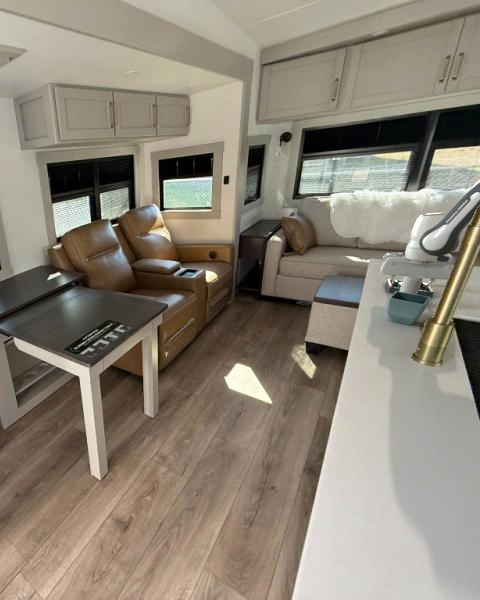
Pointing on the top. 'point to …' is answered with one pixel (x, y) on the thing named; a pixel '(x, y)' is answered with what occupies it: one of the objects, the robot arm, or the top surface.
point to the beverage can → (411, 284)
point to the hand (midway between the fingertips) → (408, 286)
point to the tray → (421, 291)
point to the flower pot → (406, 307)
